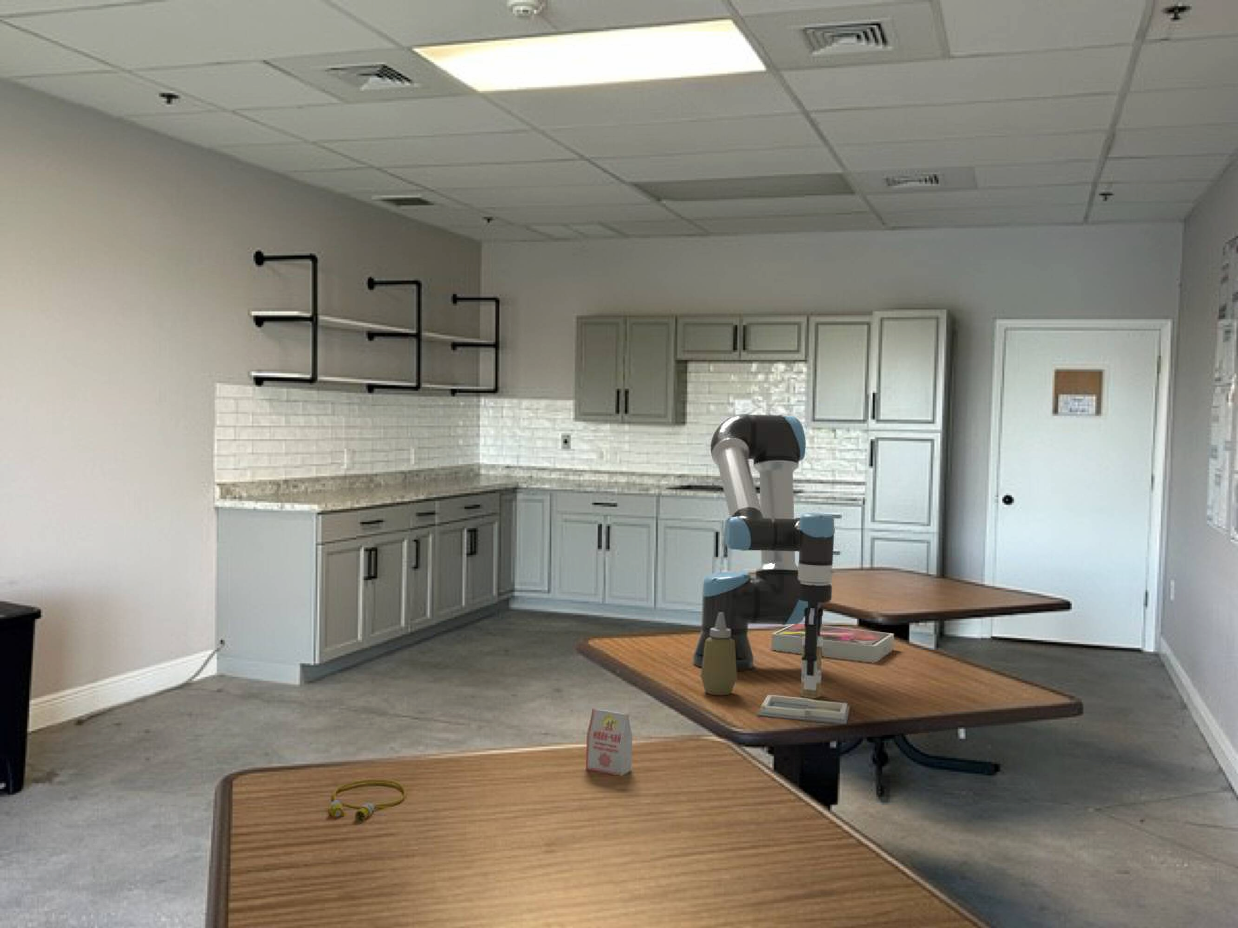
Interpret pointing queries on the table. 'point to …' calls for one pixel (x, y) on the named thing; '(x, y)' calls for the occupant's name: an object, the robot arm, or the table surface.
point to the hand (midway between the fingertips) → (810, 686)
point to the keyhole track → (804, 709)
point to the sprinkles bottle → (816, 692)
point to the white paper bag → (609, 743)
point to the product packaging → (837, 642)
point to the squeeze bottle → (719, 660)
